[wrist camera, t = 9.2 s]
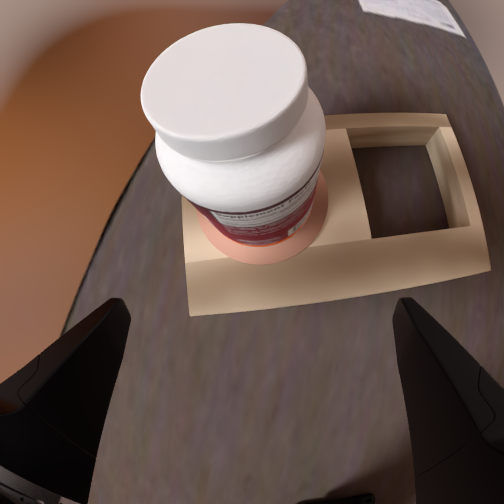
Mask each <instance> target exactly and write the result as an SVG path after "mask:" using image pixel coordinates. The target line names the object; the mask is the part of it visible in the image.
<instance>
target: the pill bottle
mask: <svg viewBox="0 0 504 504" xmlns="http://www.w3.org/2000/svg"><path fill="white" fill-rule="evenodd" d="M141 104H142V107H143V111H144V113H145V115H146V117H147V119H148V120H149V122H150V123H151V125H152V126H153V127H154V129H155V130H156V139H155V142H156V152H157V157H158V160H159V163H160V165H161V168H162V170H163V172H164V174H165V175H166V177H167V178H168V180H169V181H170V182H171V184H172V185H173V186H174V187H175V188H176V189H177V190H178V191H179V193H180V194H181V195H182V196H183V197H185V198H186V199H187V200H188V201H189V202H190V203H191V204H192V205H193V206H194V207H195V208H196V209H197V210H198V211H199V212H200V213H201V214H202V215H203V216H204V217H206V218H207V219H208V221H209V222H210V223H211V224H213V225H214V226H215V227H216V228H217V229H218V230H219V231H220V232H221V233H222V234H223V235H224V236H225V237H227V238H228V239H230V240H232V241H233V242H235V243H238V244H240V245H243V246H247V247H254V248H263V247H271V246H274V245H278V244H280V243H282V242H285V241H286V240H288V239H290V238H291V237H292V236H294V235H295V234H296V233H297V232H298V231H299V230H300V229H301V228H302V227H303V225H304V224H305V222H306V221H307V219H308V217H309V215H310V213H311V210H312V206H313V202H314V197H315V192H316V187H317V182H318V176H319V171H320V166H321V161H322V156H323V152H324V145H325V137H326V125H325V118H324V114H323V110H322V108H321V106H320V103H319V101H318V99H317V98H316V96H315V95H314V93H313V92H312V90H311V89H310V88H309V87H308V79H307V66H306V62H305V58H304V56H303V54H302V52H301V50H300V49H299V47H298V46H297V45H296V44H295V43H294V42H293V41H292V40H291V39H290V38H288V37H287V36H285V35H284V34H282V33H280V32H278V31H276V30H274V29H271V28H268V27H265V26H260V25H255V24H243V23H237V24H224V25H217V26H213V27H208V28H205V29H202V30H199V31H197V32H194V33H192V34H189V35H188V36H186V37H184V38H182V39H180V40H178V41H177V42H175V43H174V44H172V45H171V46H170V47H168V48H167V49H166V50H165V51H164V52H163V53H161V54H160V56H159V57H158V58H157V59H156V60H155V61H154V63H153V64H152V65H151V67H150V68H149V70H148V72H147V74H146V76H145V78H144V81H143V84H142V88H141Z"/></svg>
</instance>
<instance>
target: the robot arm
mask: <svg viewBox="0 0 504 504" xmlns="http://www.w3.org/2000/svg"><path fill="white" fill-rule="evenodd" d="M130 322H131V316H130V313H129V311H128V309H127V307H126V305H125V303H124V301H123V300H122V299H121V298H110V299H109V300H107V301H106V302H105V303H104V304H102V305H101V306H100V307H98V308H97V309H96V310H94V311H93V312H92V313H90V314H89V315H88V316H87V317H85V318H84V319H83V320H81V321H80V322H79V323H78V324H76V325H75V326H74V327H72V328H71V329H70V330H69V331H67V332H66V333H65V334H64V335H62V336H61V337H60V338H59V339H57V340H56V341H55V342H54V343H52V344H51V345H50V346H49V347H48V348H46V349H45V350H44V351H43V352H41V353H40V354H39V355H38V356H36V357H35V358H34V359H33V360H32V361H30V362H29V363H28V364H27V365H26V366H24V367H23V368H21V369H20V370H19V371H17V372H16V373H15V374H13V375H12V376H10V377H9V378H8V379H6V380H5V381H4V382H2V383H1V384H0V504H62V503H60V501H61V498H62V497H64V498H67V499H69V500H72V501H74V502H77V503H80V504H87V503H88V498H89V493H90V487H91V482H92V477H93V472H94V467H95V462H96V457H97V452H98V448H99V443H100V439H101V435H102V431H103V427H104V423H105V419H106V415H107V411H108V407H109V404H110V400H111V397H112V393H113V389H114V386H115V383H116V379H117V376H118V372H119V369H120V366H121V363H122V359H123V355H124V350H125V345H126V341H127V336H128V331H129V327H130ZM393 329H394V337H395V345H396V354H397V363H398V369H399V374H400V379H401V384H402V389H403V394H404V400H405V405H406V411H407V417H408V424H409V430H410V437H411V445H412V453H413V462H414V473H415V486H416V503H417V504H504V389H503V388H502V387H501V386H500V385H499V384H498V383H497V382H496V381H495V380H494V379H493V378H492V377H491V376H490V375H489V374H488V373H487V371H486V370H485V369H484V368H483V367H482V366H480V364H479V363H478V362H477V361H476V360H475V359H474V358H473V357H472V356H471V355H470V354H469V353H468V352H467V351H466V350H465V349H464V347H463V346H462V345H461V344H460V343H459V342H458V341H457V340H456V339H455V338H454V337H453V336H452V335H451V334H450V333H449V332H448V331H447V330H446V329H444V328H443V327H442V326H441V325H440V324H439V323H438V322H437V321H436V320H435V319H434V318H433V317H432V316H431V315H430V314H429V313H428V312H427V311H426V310H425V309H424V308H423V307H422V306H420V305H419V304H418V303H417V302H416V301H415V300H414V299H413V298H411V297H403V298H399V300H398V302H397V305H396V308H395V311H394V314H393ZM368 498H370V499H369V500H367V499H368ZM374 503H375V497H374V495H373V494H364V495H360V496H355V497H349V498H344V499H338V500H332V501H325V502H317V503H308V504H374Z"/></svg>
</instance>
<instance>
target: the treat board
mask: <svg viewBox="0 0 504 504" xmlns="http://www.w3.org/2000/svg"><path fill="white" fill-rule="evenodd" d="M324 118H325V125H326V137H325V145H324V152H323V156H322V161H321V166H320V171H319V176H318V182H317V187H316V192H315V197H314V202H313V206H312V210H311V213H310V215H309V217H308V219H307V221H306V222H305V224H304V225H303V227H302V228H301V229H300V230H299V231H298V232H297V233H296V234H295V235H294V236H292V237H291V238H290V239H288V240H286V241H285V242H282V243H280V244H278V245H274V246H271V247H263V248H254V247H247V246H243V245H240V244H238V243H235V242H233V241H232V240H230V239H228V238H227V237H225V236H224V235H223V234H222V233H221V232H220V231H219V230H218V229H217V228H216V227H215V226H214V225H213V224H211V223H210V222H209V221H208V219H207V218H206V217H204V216H203V215H202V214H201V213H200V212H199V211H198V210H197V209H196V208H195V207H194V206H193V205H192V204H191V203H190V202H189V201H188V200H187V199H186V198H185V197H183V196H182V216H183V236H184V252H185V267H186V280H187V292H188V303H189V313H190V316H198V315H210V314H221V313H232V312H242V311H252V310H261V309H270V308H279V307H287V306H295V305H303V304H310V303H318V302H325V301H332V300H339V299H346V298H352V297H358V296H365V295H371V294H377V293H383V292H389V291H394V290H400V289H405V288H411V287H416V286H421V285H426V284H432V283H437V282H441V281H446V280H451V279H456V278H460V277H465V276H469V275H474V274H478V273H483V272H487V271H491V266H490V260H489V254H488V248H487V243H486V238H485V233H484V228H483V224H482V220H481V215H480V211H479V207H478V204H477V200H476V196H475V193H474V189H473V186H472V183H471V179H470V176H469V173H468V170H467V167H466V164H465V161H464V158H463V156H462V153H461V150H460V147H459V145H458V142H457V140H456V137H455V135H454V132H453V130H452V127H451V125H450V123H449V120H448V118H447V116H446V114H431V113H359V114H340V115H326V116H324ZM411 145H426V148H427V151H428V154H429V157H430V160H431V163H432V166H433V169H434V172H435V175H436V179H437V182H438V185H439V189H440V193H441V196H442V200H443V204H444V208H445V212H446V216H447V220H448V225H449V229H443V230H436V231H428V232H421V233H413V234H405V235H398V236H390V237H383V238H375V239H372V238H371V232H370V227H369V222H368V217H367V212H366V207H365V202H364V198H363V193H362V189H361V185H360V180H359V176H358V172H357V168H356V164H355V160H354V156H353V153H352V149H351V148H366V147H384V146H411Z"/></svg>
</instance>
